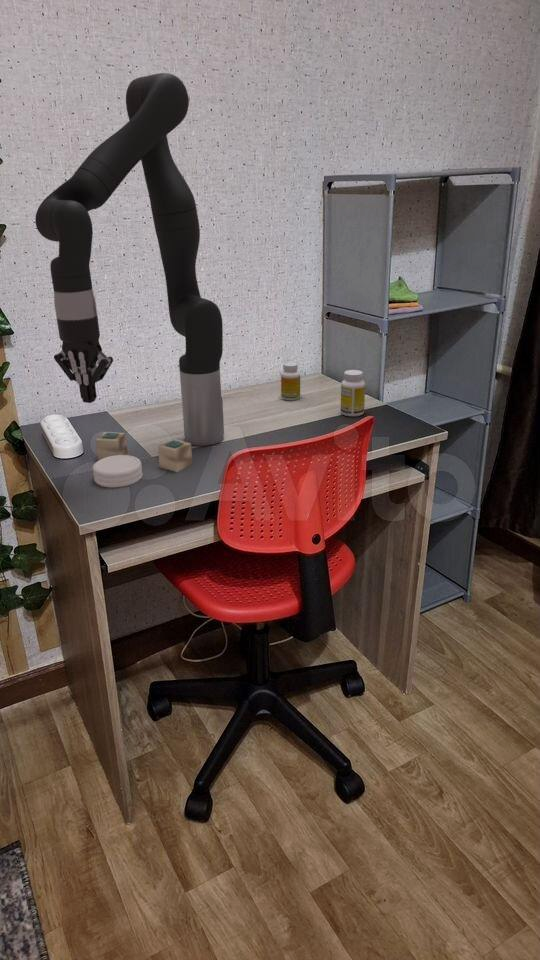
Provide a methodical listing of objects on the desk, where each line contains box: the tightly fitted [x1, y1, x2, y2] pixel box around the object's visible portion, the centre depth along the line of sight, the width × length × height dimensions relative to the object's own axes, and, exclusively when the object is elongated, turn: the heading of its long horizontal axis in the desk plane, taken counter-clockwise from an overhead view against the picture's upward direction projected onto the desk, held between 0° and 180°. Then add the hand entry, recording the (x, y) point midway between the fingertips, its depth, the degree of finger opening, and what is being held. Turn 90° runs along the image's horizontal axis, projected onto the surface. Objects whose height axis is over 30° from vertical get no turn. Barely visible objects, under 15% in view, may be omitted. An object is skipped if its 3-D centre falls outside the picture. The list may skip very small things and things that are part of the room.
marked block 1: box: [95, 431, 129, 461], centre depth 151 cm, size 5×5×5 cm
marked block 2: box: [157, 438, 193, 473], centre depth 146 cm, size 5×5×5 cm
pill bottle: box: [340, 369, 366, 417], centre depth 174 cm, size 6×6×11 cm
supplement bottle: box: [280, 361, 301, 401], centre depth 187 cm, size 5×5×10 cm
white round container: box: [92, 454, 143, 488], centre depth 141 cm, size 10×10×4 cm
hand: (89, 401), depth 134 cm, fingers closed
